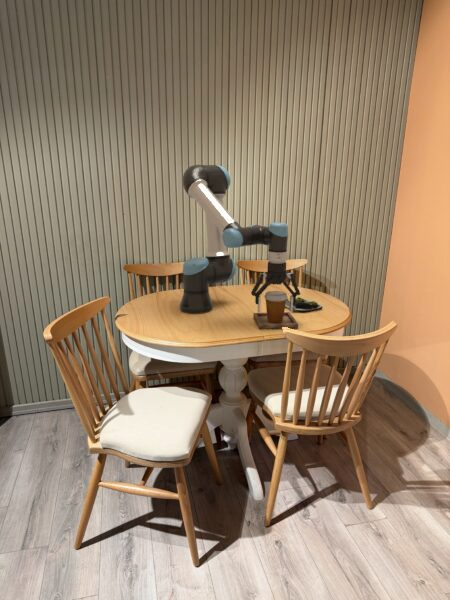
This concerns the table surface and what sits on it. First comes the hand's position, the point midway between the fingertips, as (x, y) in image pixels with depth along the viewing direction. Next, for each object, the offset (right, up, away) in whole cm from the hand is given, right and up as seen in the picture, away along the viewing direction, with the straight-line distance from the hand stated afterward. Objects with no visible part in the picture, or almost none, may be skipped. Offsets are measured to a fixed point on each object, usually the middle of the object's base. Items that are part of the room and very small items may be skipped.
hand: (274, 311), depth 175 cm
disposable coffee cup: (0, -4, +1) cm, 4 cm away
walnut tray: (0, -5, +1) cm, 5 cm away
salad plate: (+16, +1, +23) cm, 28 cm away
